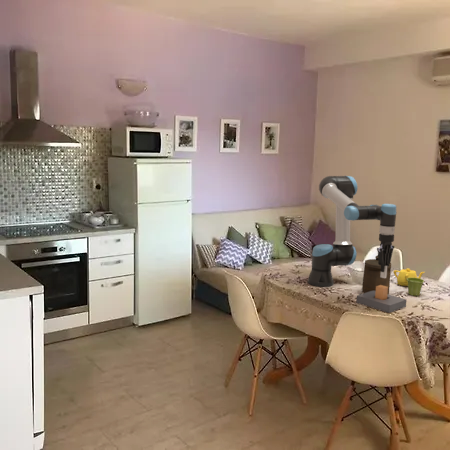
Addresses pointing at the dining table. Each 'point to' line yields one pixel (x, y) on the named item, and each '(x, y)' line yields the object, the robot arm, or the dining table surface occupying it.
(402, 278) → the teapot
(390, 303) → the socket board
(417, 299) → the dining table surface
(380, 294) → the orange plug
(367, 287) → the wooden container
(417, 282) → the plant pot
